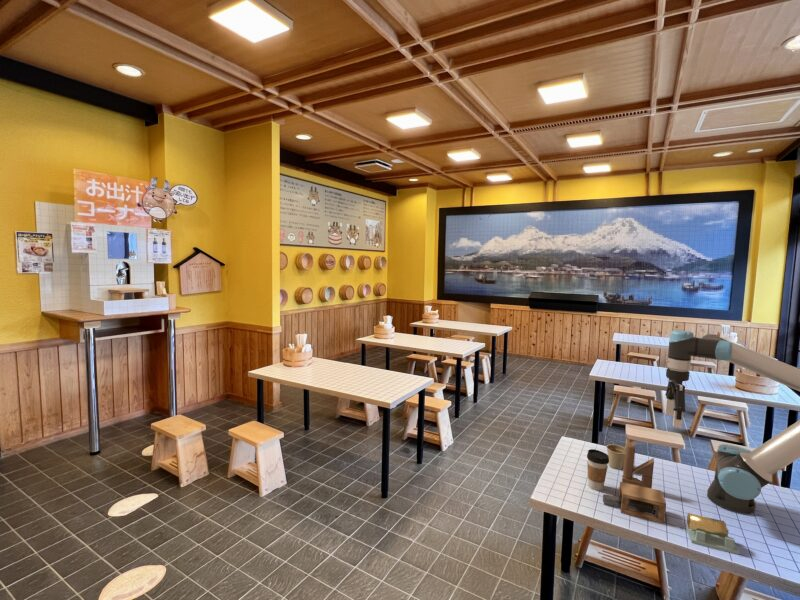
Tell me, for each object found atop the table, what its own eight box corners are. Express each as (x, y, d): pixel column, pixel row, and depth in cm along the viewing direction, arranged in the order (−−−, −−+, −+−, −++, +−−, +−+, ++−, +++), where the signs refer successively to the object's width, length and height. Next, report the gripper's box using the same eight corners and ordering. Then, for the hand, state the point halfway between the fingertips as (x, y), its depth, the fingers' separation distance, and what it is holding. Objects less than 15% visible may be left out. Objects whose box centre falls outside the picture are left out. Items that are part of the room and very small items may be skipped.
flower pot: (627, 465, 189) (629, 447, 189) (626, 473, 181) (628, 455, 181) (605, 459, 194) (607, 442, 194) (603, 467, 186) (605, 449, 186)
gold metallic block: (720, 529, 139) (723, 517, 138) (725, 540, 135) (727, 529, 133) (686, 521, 143) (688, 509, 141) (689, 532, 139) (692, 520, 137)
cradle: (729, 539, 139) (731, 528, 139) (738, 554, 132) (740, 542, 131) (685, 528, 144) (686, 517, 144) (691, 542, 137) (692, 531, 136)
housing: (658, 508, 155) (660, 490, 155) (664, 523, 147) (666, 503, 146) (618, 499, 161) (620, 481, 160) (621, 512, 152) (622, 493, 152)
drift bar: (650, 510, 155) (651, 502, 155) (653, 514, 152) (653, 507, 152) (602, 501, 160) (603, 494, 160) (603, 505, 157) (604, 498, 157)
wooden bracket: (651, 494, 166) (655, 452, 164) (621, 486, 171) (625, 445, 169) (650, 489, 169) (654, 449, 167) (621, 482, 174) (625, 442, 173)
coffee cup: (587, 479, 176) (590, 446, 174) (608, 486, 170) (611, 453, 169) (582, 487, 169) (584, 453, 168) (604, 495, 164) (607, 460, 162)
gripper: (660, 361, 171) (655, 408, 173) (674, 375, 148) (669, 430, 150) (681, 363, 168) (676, 411, 170) (698, 378, 145) (692, 434, 147)
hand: (672, 420), depth 160 cm, fingers open, 13 cm apart
